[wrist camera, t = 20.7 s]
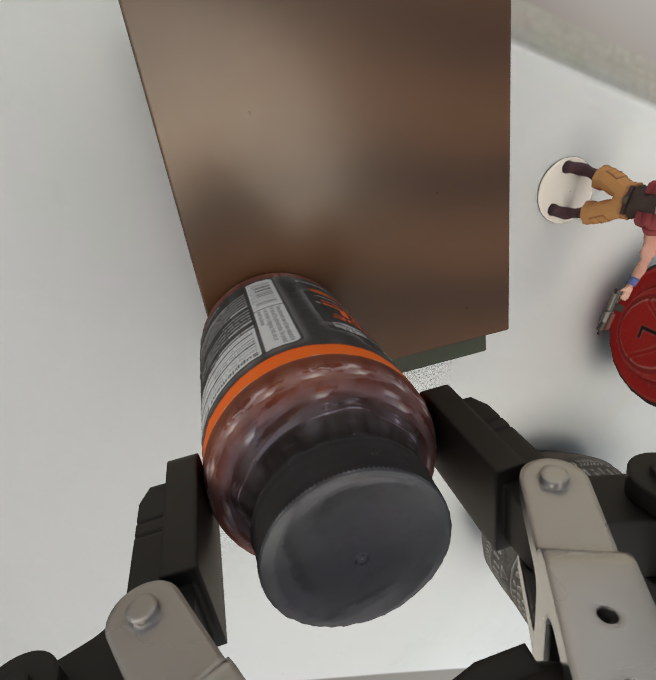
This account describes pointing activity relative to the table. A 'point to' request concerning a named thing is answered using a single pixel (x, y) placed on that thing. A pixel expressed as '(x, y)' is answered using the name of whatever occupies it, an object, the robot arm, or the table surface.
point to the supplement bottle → (317, 454)
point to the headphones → (637, 338)
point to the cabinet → (341, 152)
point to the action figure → (601, 211)
